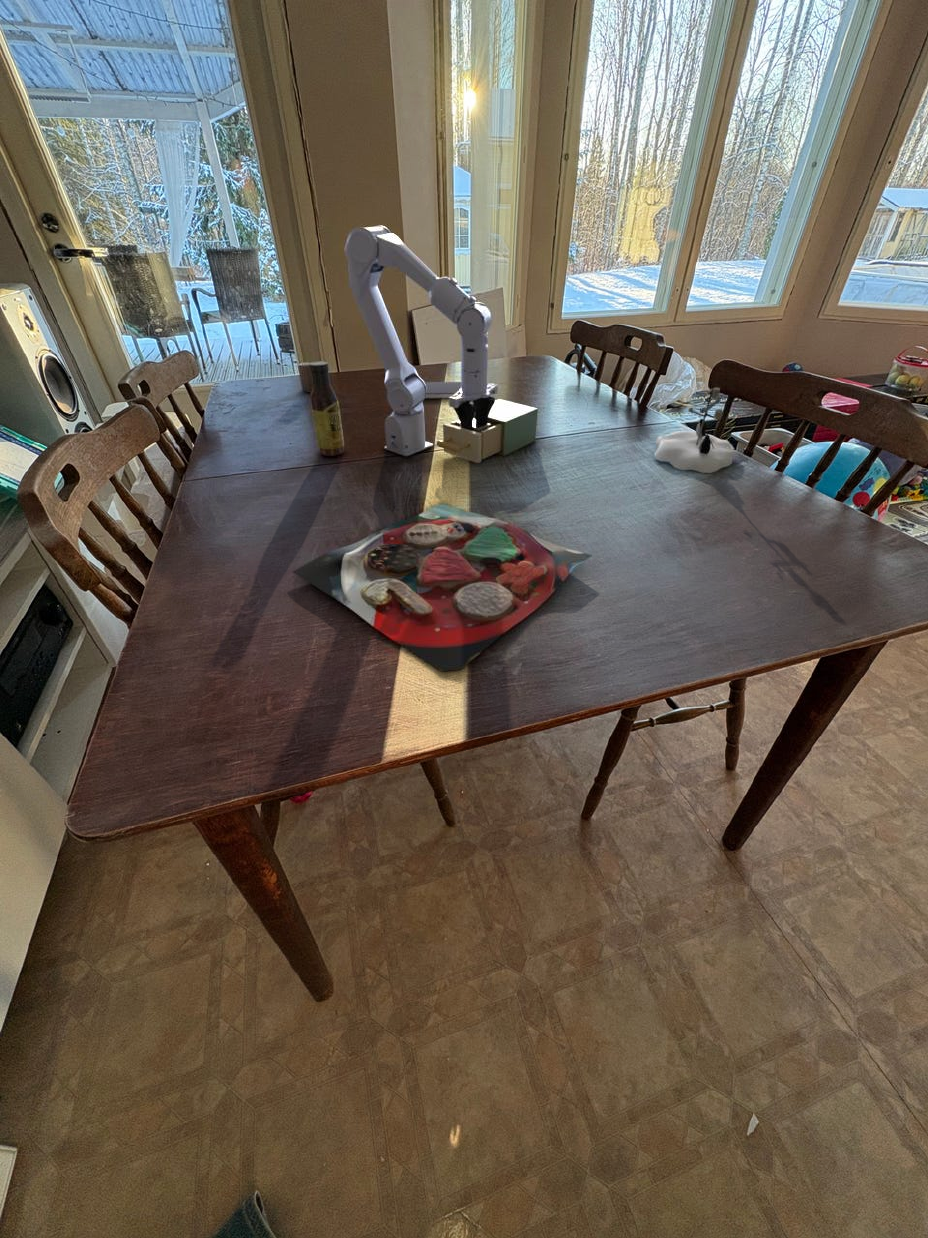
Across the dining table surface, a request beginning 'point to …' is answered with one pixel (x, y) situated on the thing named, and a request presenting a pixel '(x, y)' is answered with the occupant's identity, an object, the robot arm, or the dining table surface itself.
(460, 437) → the drawer
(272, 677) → the dining table surface
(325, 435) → the sauce bottle
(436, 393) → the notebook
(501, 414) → the cabinet
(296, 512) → the dining table surface
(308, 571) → the platter
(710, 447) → the figurine
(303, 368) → the wooden block
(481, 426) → the grey framed box
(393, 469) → the dining table surface
